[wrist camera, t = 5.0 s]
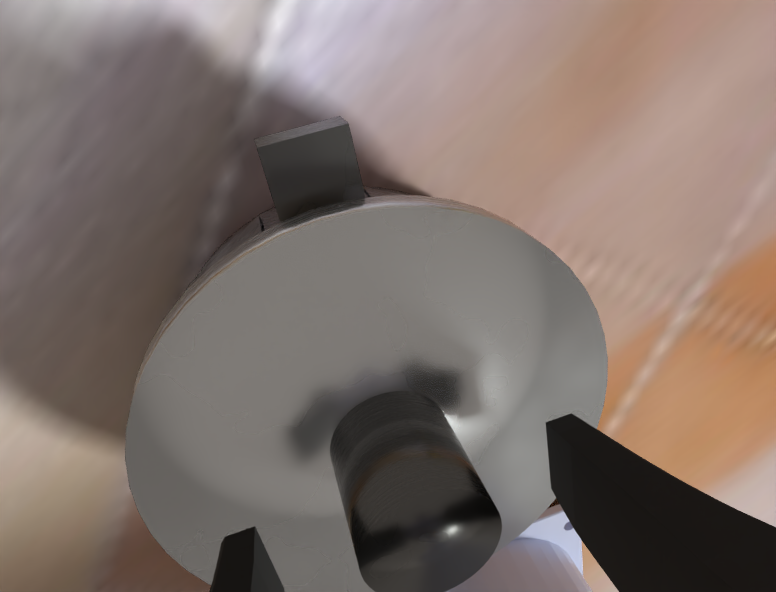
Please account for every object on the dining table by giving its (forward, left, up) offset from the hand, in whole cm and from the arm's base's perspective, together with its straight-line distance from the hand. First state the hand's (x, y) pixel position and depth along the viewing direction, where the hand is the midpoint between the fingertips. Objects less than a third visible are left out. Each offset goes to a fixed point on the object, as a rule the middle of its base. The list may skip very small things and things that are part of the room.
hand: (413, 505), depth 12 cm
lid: (0, 0, -3) cm, 3 cm away
